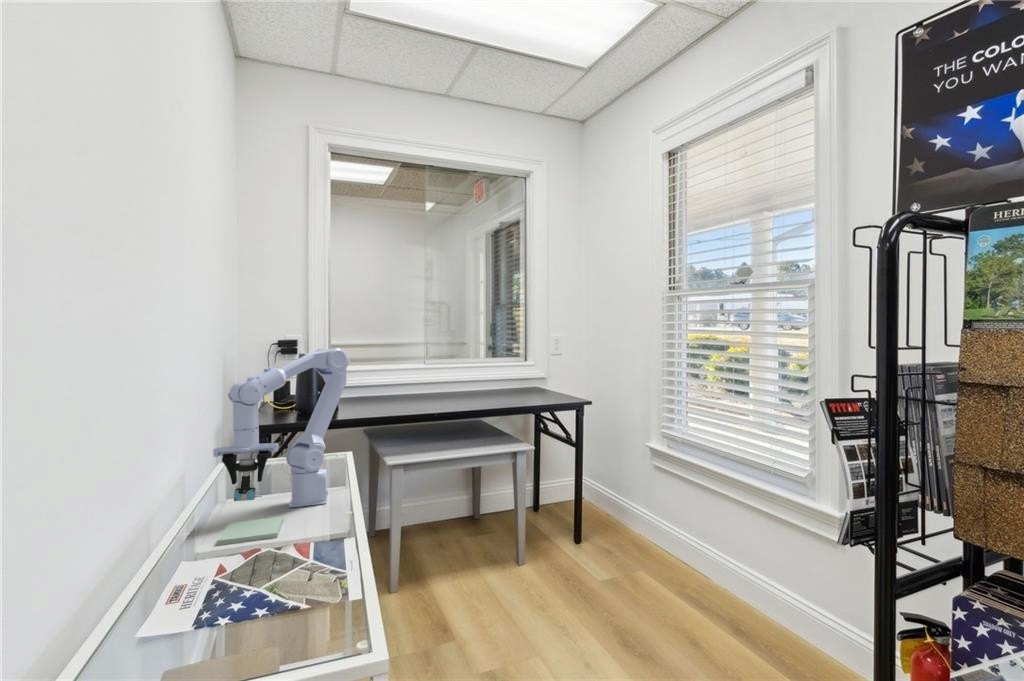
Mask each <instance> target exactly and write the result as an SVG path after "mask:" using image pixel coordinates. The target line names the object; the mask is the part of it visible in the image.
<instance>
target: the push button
mask: <svg viewBox="0 0 1024 681" xmlns="http://www.w3.org/2000/svg"><path fill="white" fill-rule="evenodd" d="M235 466H236V472H237V486H235V489H234V492H233V501H234V502H242V501H254V500H255V498H262V497H263V495H259V494H263V492H262V491H261V492H260V491H259V492H257V491H256V490H257V489H256V487H255V485H254V478H255V471H256V470H257V471H258V463H257V461H256V459H255V458H241V459H239V462H236V464H235ZM257 494H258V495H257Z"/></svg>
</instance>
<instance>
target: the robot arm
mask: <svg viewBox="0 0 1024 681" xmlns="http://www.w3.org/2000/svg"><path fill="white" fill-rule="evenodd" d="M349 364H350V361H349V358H348V356H347V353H346V352H345V351H344V350H343V349H341V348H330V349H329V348H328V349H327V348H325V349H324V348H318V349H316V350H315V351H310V352H308V353H306V354H305V355H303V356H301V357H299V358H298V359H296V360H294V361H292V362H290V363H288V364H287V365H285V366H283V367H281V368H277V367H270V366H269V367H265V368H264V369H263V371H262V372H260V373H258V374H256V375H254V376H252V375H249V376H247V377H246V379H247V380H246V381H238V382H236V383H234V384H233V385H232V387H231V388H230V390H229V392H228V393H227V396H228V399H229V401H230V402H231V404H232V421H233V423H232V428H233V432H232V433H233V434H232V435H233V445H230V446H221V447H215V448H213V450H212V453H213V456H212V457H213V458H215V457H222V458H221V461H222V463H223V465H224V467H225V468H226V470H227V472H228V474H229V477H230V480H231V484H232V485H236V484H238V471H236V466H235V464H236V463H238V461H237V460H238V455H247V454H256V459H257V460H256V462H257V463H258V467H257V482H258V483H260V482H262V481H263V475H264V470H265V467H266V464H267V461H268V459H269V456H270V455H271V452H273V453H275V452H278V451H279V443H278V442H269V443H268V442H267V443H265V442H264V443H263V442H262V443H260V428H259V426H260V423H259V403H260V401H261V400H262V398H263V397H265V396H266V395H269V394H271V393H272V392H275V391H276V390H278V389H281V388H282V387H284V386H285V384H286V382H287V380H288V379H290V378H292V377H294V376H296V375H299V374H301V373H303V372H305V371H308V370H310V369H312V368H314V370H315V371H316V372H317V373H318V374H319V375H320V376H321V377H322V379H323V381H324V383H325V384H324V386H323V387H322V390H321V392H320V395H319V397H318V400H317V402H316V405H315V406H314V409H313V411H312V414H311V416H310V419H309V420H308V423H307V425H306V428H305V430H304V432H303V434H302V435H301V436H299V437H298V438H297V439H296V440H295V442H294V443H293V445H292V446H291V447H290V448H289V449H288V450H287V452H286V456H285V460H286V463H287V465H288V466H289V467H290V471H291V473H290V476H291V477H290V478H291V500H290V501H289V504H288V508H299V507H306V506H313V505H315V506H316V505H323V504H326V503H327V500H328V495H329V488H328V475H327V474H328V473H327V472H328V471H327V468H321V467H322V465H323V464H324V460H325V450H326V448H327V447H326V444H325V442H324V438H325V435H326V433H327V431H328V428H329V426H330V423H331V421H332V419H333V416H334V413H335V411H336V408H337V406H338V404H339V401H340V399H341V397H342V394H343V393H344V392H343V391H344V389H345V387H346V385H347V384H346V383H347V369H348V366H349Z"/></svg>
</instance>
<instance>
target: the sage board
mask: <svg viewBox="0 0 1024 681" xmlns="http://www.w3.org/2000/svg"><path fill="white" fill-rule="evenodd" d="M284 521H285V516H279V517H278V516H276V517H268V518H260V519H252V520H244V521H243V520H242V521H235V522H229V523H228V525H227V526H226V528H225V529H224V531H223V532H222V533H221V535H220V536H219V537H218V538H217V540H216V545H217V546H223V545H229V544H231V545H232V544H236V543H237V544H238V543H245V542H246V543H247V542H253V541H259V540H267V539H268V540H269V539H274V538H278V537H279V534H280V531H281V528H282V526H283V524H284Z"/></svg>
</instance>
